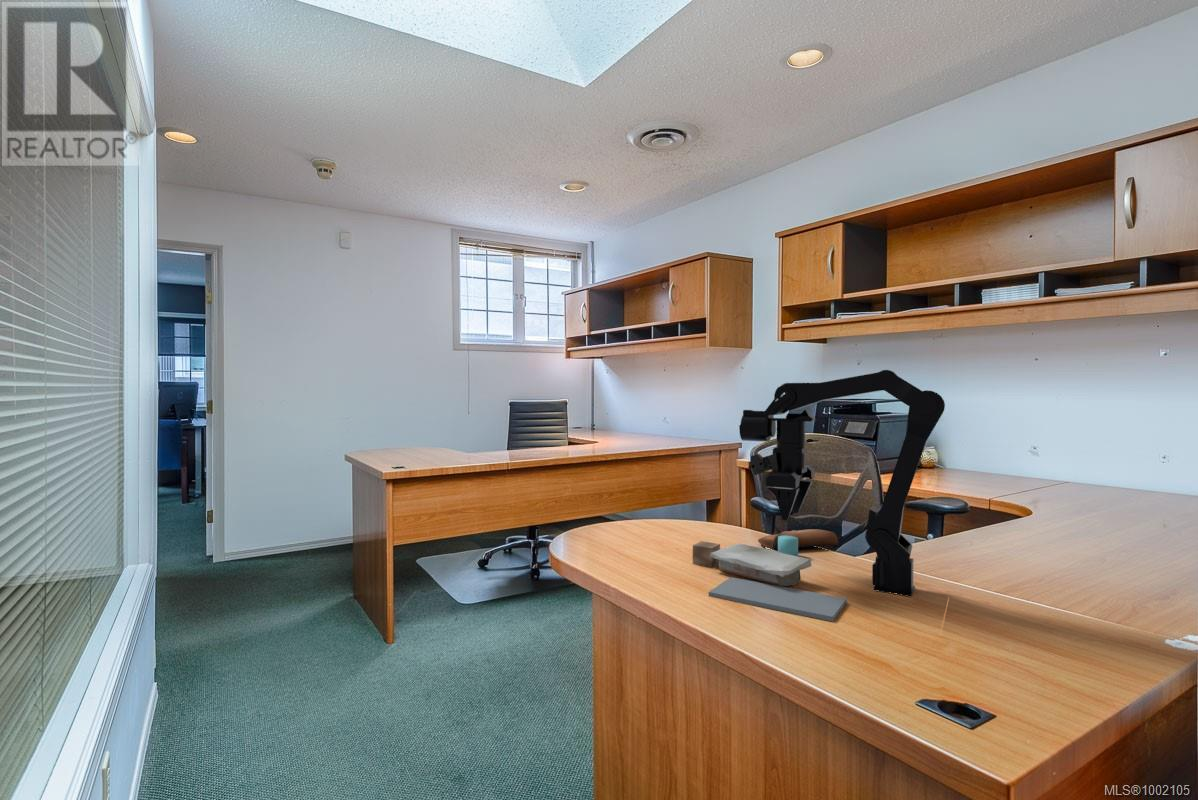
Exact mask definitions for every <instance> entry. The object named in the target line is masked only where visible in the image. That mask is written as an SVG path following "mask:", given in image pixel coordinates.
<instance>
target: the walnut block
mask: <svg viewBox="0 0 1198 800" xmlns="http://www.w3.org/2000/svg"><path fill="white" fill-rule="evenodd" d="M720 549H721V544H720V543H716V542H715V543H714V542H708V541H703V540H702V541H701V540H700V541H699V542H697V543H695V544H693V545H692V564H694V565H697V564H699V566H703V565H704V566H703V567H708V566H709V567H708V568H713V567H714V565H715V564H716V565H718V564H717V563H718V562H717V559H715V558H711V557H710V554H711V553H712V552H715V551H718V550H720ZM716 565H715V566H716ZM712 566H713V567H712Z"/></svg>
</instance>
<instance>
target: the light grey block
mask: <svg viewBox="0 0 1198 800" xmlns="http://www.w3.org/2000/svg"><path fill="white" fill-rule="evenodd" d="M710 557H711V558H715V559H717V562H718V564H717V565H718V569H719V570H720V571H721V572H725V573H729V574H731V575H737V576H740V577H744V578H748V579H751V580H754V581H757V582H761V583H765V584H771V585H776V586H782V587H789V586H790V585H794V584H795V585H797V583H800V581H801V578H802V576H801V571H802V570H806V569H808V568H811V567H812V560H811V558H807V557H801V556H799V555H798V556H793V555H788V554H784V553H781V552H778V551H776V550H771V549H766V548H764V547H758V546H753V545H748V544H745V543H740V542H738V543H734V544H730V545H729V546H726V547H723V548H720V550H718V551H715V552H712V553H711V554H710ZM795 585H794V586H795Z"/></svg>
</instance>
